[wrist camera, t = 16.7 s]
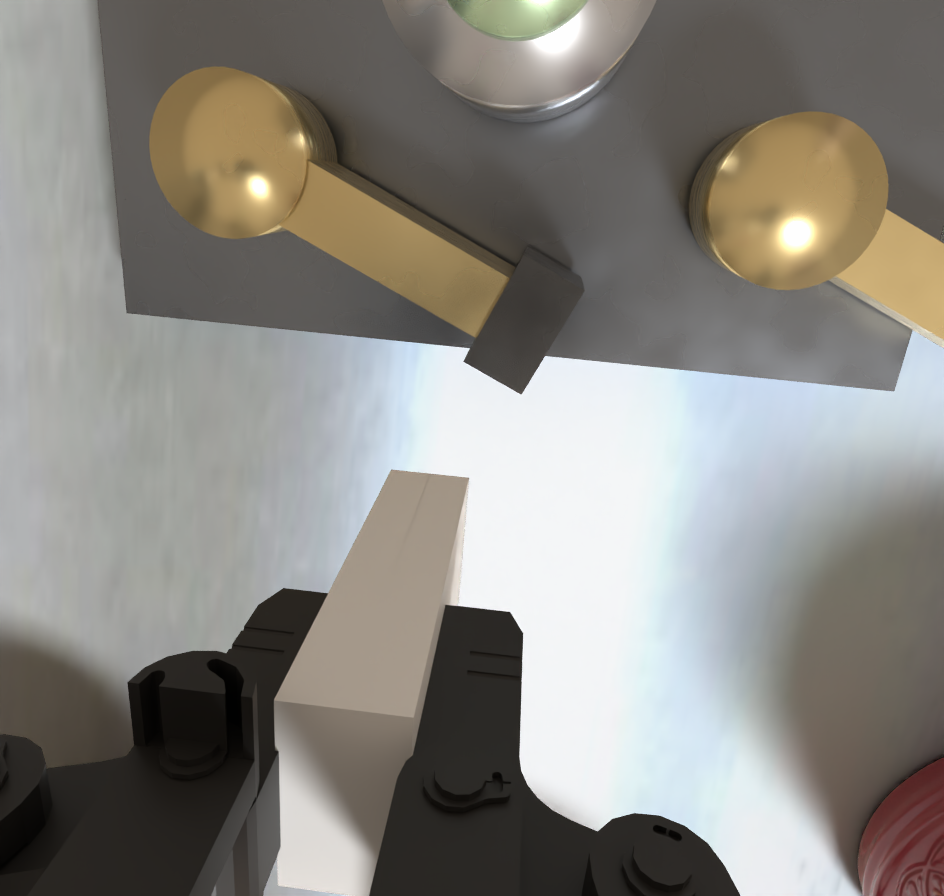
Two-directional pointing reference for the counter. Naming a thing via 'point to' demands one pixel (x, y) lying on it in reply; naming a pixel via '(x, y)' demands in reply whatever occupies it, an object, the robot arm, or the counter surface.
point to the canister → (906, 839)
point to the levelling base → (541, 160)
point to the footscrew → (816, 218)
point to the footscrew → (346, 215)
